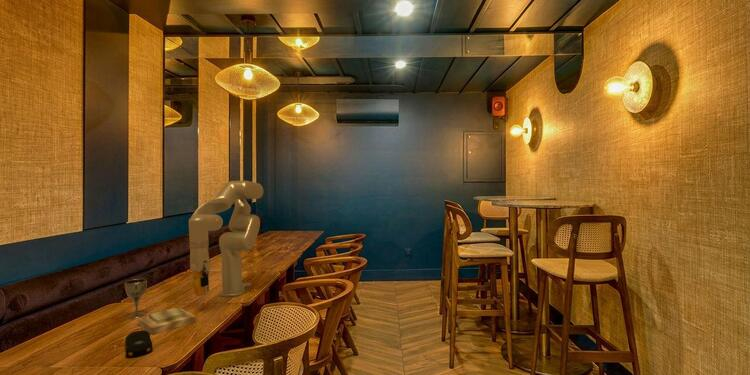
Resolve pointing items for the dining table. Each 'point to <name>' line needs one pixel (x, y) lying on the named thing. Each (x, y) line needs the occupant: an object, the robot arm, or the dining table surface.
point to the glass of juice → (199, 284)
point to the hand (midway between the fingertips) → (201, 284)
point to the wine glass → (136, 294)
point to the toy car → (138, 343)
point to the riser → (166, 320)
